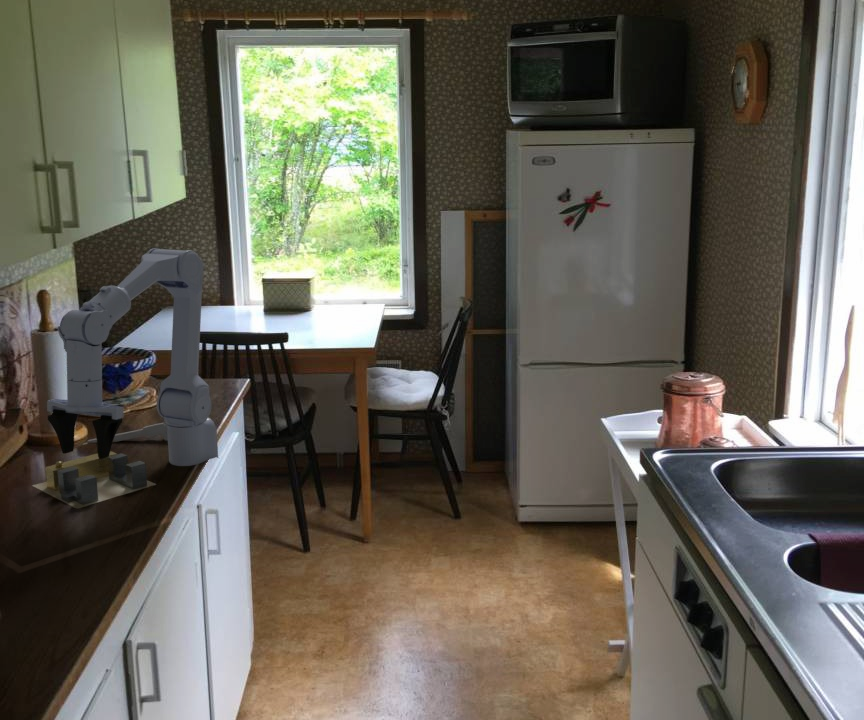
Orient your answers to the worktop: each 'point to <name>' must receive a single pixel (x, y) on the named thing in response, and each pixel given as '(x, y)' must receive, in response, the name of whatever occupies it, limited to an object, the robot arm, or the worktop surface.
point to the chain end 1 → (77, 486)
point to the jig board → (104, 487)
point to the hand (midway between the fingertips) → (85, 454)
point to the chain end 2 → (127, 471)
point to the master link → (79, 468)
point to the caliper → (140, 433)
